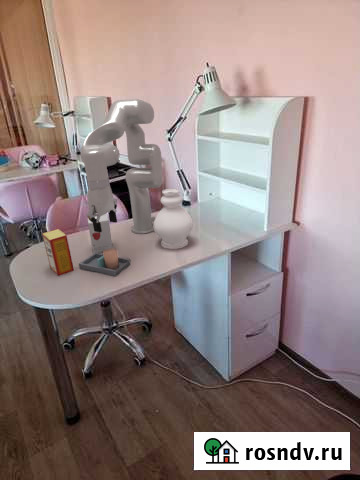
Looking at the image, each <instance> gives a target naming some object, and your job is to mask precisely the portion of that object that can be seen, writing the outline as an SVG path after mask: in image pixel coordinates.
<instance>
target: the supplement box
mask: <svg viewBox="0 0 360 480" xmlns="http://www.w3.org/2000/svg"><path fill="white" fill-rule="evenodd" d="M96 218H97V216H95V219H96ZM99 222H100V223H101V229H102V232H95V231H94V227H93V222H91V221H90V220H89V218H88V217H87V225H88V231H89V237H90V242H91V247H92V254H94V253H99V254H102V253H103V252H104V251H105V250H107V249H114V247H113V239H112V232H111V225H110V220H109V214H108V213H106V214H104V215H102V216H100V220H99Z"/></svg>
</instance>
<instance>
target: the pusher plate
mask: <svg viewBox="0 0 360 480" xmlns="http://www.w3.org/2000/svg"><path fill="white" fill-rule="evenodd" d="M97 263H98V267H102V268H104V267H105V260H104V255H103V256H102V257H100V258H99V259H97Z"/></svg>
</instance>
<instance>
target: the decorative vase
mask: <svg viewBox="0 0 360 480" xmlns="http://www.w3.org/2000/svg"><path fill="white" fill-rule="evenodd" d="M179 193H180V189H178V188H167V189H166V188H165V189H163V190H162V191H161V194H163V195H162V197H160V203H161V205H163V207H162V208H161V209H160V210H159V212H158V213H157V215H156V216H155V220H154V221H153V224H154V231H153V232H154V233H155V234H156V235H157V236H158V237H159V238H160V239H161V242H160V246H161V247H162V248H164V249H168V250H173V249H174V250H178V249H182V248H184V247H186V246H187V245H188V244H189V240H188V239H187V237H188V236H189V235H190V233H191V232H192V231H193V227H194V224H193V219H192V217H191V215H190V214H189V213H188V211H186V209H184V208H183V207H182V206H181V203H183V197H182V196H181V195H180V194H179Z"/></svg>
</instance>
